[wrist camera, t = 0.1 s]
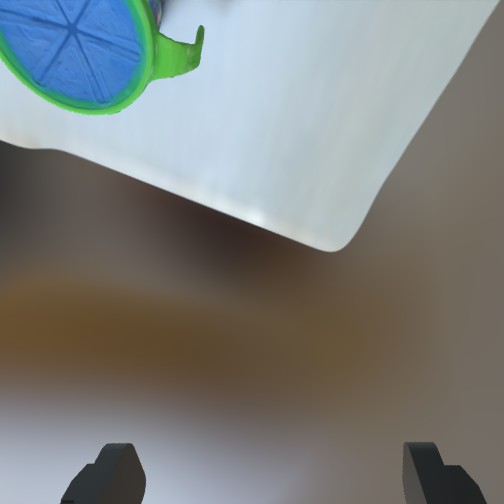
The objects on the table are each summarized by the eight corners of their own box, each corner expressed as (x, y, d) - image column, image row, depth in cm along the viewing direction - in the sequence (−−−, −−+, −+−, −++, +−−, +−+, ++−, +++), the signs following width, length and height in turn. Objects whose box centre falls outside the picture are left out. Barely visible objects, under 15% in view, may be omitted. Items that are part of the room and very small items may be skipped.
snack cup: (229, -29, 27) (214, -2, 20) (191, 98, 34) (170, 151, 27) (8, -147, 23) (-109, -166, 16) (16, 23, 30) (-63, 63, 23)
